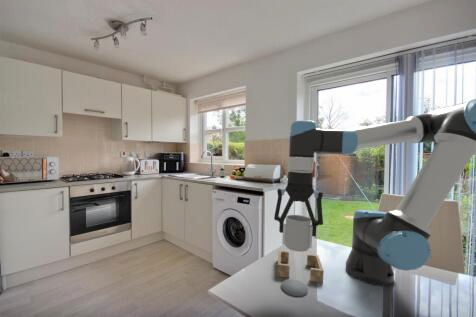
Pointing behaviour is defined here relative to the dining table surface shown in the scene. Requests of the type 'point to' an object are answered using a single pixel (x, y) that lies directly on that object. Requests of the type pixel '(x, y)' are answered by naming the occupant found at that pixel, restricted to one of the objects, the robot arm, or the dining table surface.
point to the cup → (297, 233)
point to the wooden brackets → (312, 261)
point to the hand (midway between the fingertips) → (296, 244)
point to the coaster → (294, 287)
